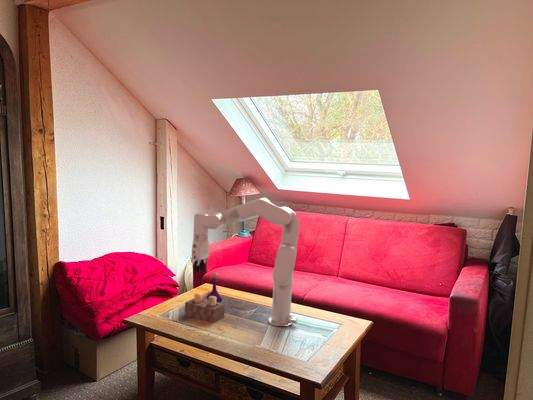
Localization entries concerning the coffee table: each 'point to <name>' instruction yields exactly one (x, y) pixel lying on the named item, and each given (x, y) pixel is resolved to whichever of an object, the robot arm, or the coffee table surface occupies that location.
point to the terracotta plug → (198, 298)
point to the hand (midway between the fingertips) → (199, 271)
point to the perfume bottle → (214, 289)
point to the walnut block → (204, 310)
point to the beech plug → (212, 301)
